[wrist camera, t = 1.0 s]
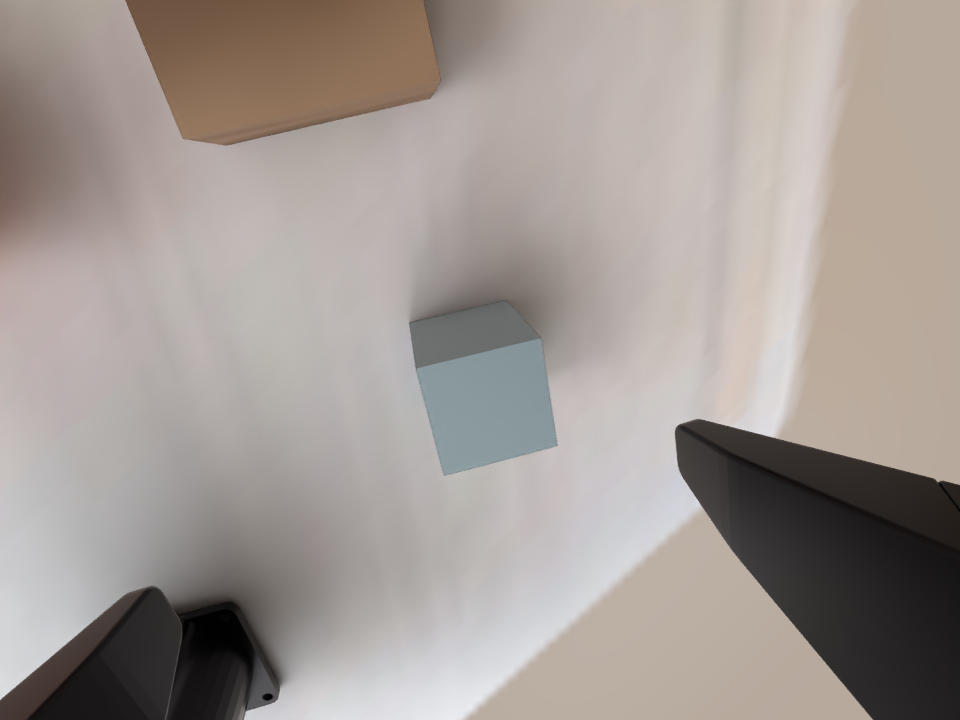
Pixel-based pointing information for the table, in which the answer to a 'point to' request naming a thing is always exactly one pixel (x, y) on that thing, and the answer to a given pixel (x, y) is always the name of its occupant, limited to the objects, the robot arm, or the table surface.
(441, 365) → the block
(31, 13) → the table surface
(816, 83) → the table surface
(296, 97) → the base
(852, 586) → the robot arm
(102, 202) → the table surface
